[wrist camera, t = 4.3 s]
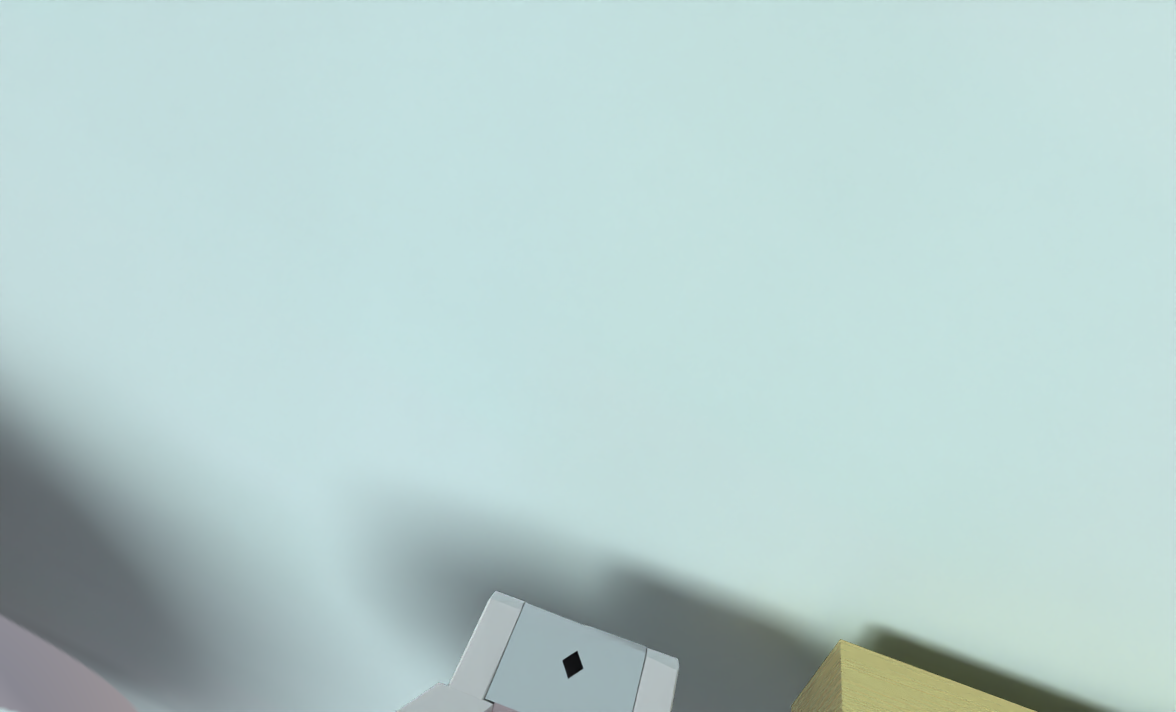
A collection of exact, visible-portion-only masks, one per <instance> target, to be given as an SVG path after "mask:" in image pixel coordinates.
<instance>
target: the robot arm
mask: <svg viewBox="0 0 1176 712" xmlns="http://www.w3.org/2000/svg"><path fill="white" fill-rule="evenodd" d="M678 672H679V662H678V658H675V657H672V656H670V655H667V654H664V653H661V652H658V651H655V650H653V649H650V648H646V646H645V645H642V644H639V643H636V642H633V641H630V640H628V639H625V638H622V637H619V636H616V635H614V634H611V633H608V632H605V631H602V630H599V629H597V628H594V627H591V626H588V625H583V624H581V623H578V622H575V621H573V620H570V619H568V618H565V617H562V616H560V615H557V614H555V613H552V612H549V611H547V610H544V609H542V608H539V607H536V606H534V605H531V604H529V603H526V602H525V601H522V600H519V599H517V598H514V597H511V596H509V595H506V594H503V593H500V592H498V591H495V592H494V593H493V595H492V596H491V597H490V599H489V600H488V602H487V604H486V607H485V609H484V611H483V613H482V615H481V617H480V619H479V621H478V623H477V626H476V628H475V630H474V632H473V634H472V636H471V638H470V640H469V642H468V645H467V647H466V649H465V651H464V653H463V655H462V657H461V659H460V661H459V664H458V666H457V668H456V670H455V672H454V674H453V676H452V678H451V680H450V682H449V685H445V684H442V683H437V684H436V685H434V686H433V687H431V688H430V689H428V690H427V691H425V692H424V693H422V694H421V695H419V696H418V697H416V698H415V699H413V700H412V701H410V702H409V703H407V704H406V705H404V706H403V707H401V708H400V709H398V710H397V711H395V712H671V711H672V706H673V700H674V695H675V689H676V683H677V678H678Z"/></svg>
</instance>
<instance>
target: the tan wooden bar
mask: <svg viewBox="0 0 1176 712" xmlns="http://www.w3.org/2000/svg"><path fill="white" fill-rule="evenodd" d="M791 712H1037V711H1034V710H1031V709H1028V708H1026V707H1023V706H1020V705H1018V704H1015V703H1012V702H1009V701H1007V700H1004V699H1001V698H999V697H996V696H993V695H990V694H988V693H985V692H982V691H980V690H977V689H974V688H971V687H969V686H966V685H963V684H961V683H958V682H955V681H952V680H950V679H947V678H944V677H942V676H939V675H936V674H933V673H931V672H928V671H925V670H923V669H920V668H917V667H914V666H912V665H909V664H906V663H904V662H901V661H898V660H896V659H893V658H890V657H887V656H885V655H882V654H879V653H877V652H874V651H871V650H868V649H866V648H863V647H860V646H858V645H855V644H852V643H849V642H847V641H844V640H841V639H840V640H839V642H838V643H837V644H836V646H835V647H834V648H833V650H832V651H831V652H830V654H829V655H828V657H827V658H826V659H825V661H824V662H823V663H822V665H821V666H820V667H819V669H818V670H817V671H816V673H815V674H814V676H813V677H812V678H811V680H810V681H809V682H808V684H807V685H806V686H805V688H804V689H803V691H802V692H801V693H800V695H799V696H798V697H797V699H796V700H795V701H794V703H793V704H792V706H791Z"/></svg>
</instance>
